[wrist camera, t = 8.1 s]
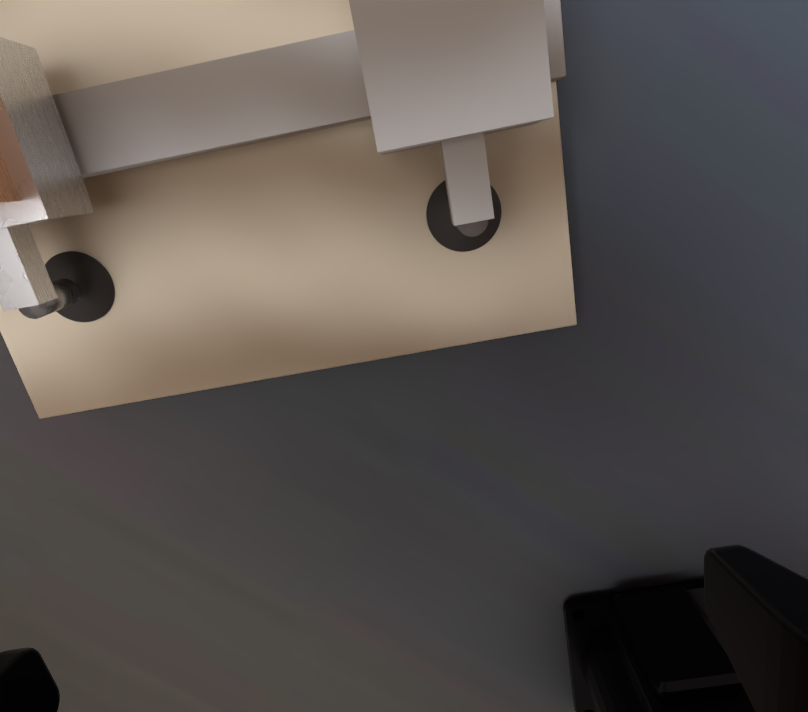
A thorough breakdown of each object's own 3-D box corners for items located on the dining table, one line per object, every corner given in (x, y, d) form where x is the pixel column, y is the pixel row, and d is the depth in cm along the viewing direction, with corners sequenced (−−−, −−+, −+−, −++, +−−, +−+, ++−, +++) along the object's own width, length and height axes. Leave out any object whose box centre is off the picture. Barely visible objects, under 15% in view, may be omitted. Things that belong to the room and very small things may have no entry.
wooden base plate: (566, 314, 18) (614, 359, 14) (61, 404, 19) (-37, 470, 15) (526, -119, 14) (577, -241, 10) (-102, 26, 15) (-295, -29, 11)
